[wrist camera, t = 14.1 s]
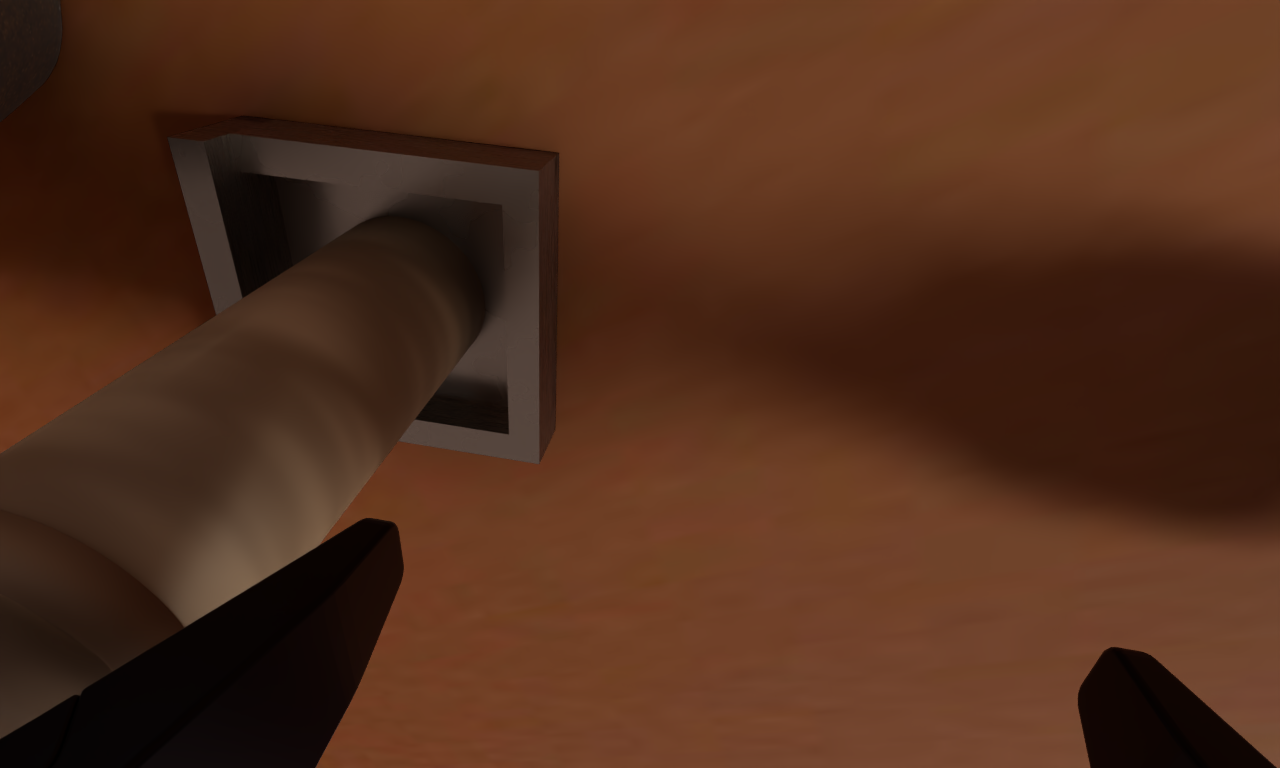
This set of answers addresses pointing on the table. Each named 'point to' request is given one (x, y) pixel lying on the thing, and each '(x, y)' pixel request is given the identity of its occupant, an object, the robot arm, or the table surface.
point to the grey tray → (410, 188)
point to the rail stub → (220, 456)
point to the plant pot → (27, 48)
